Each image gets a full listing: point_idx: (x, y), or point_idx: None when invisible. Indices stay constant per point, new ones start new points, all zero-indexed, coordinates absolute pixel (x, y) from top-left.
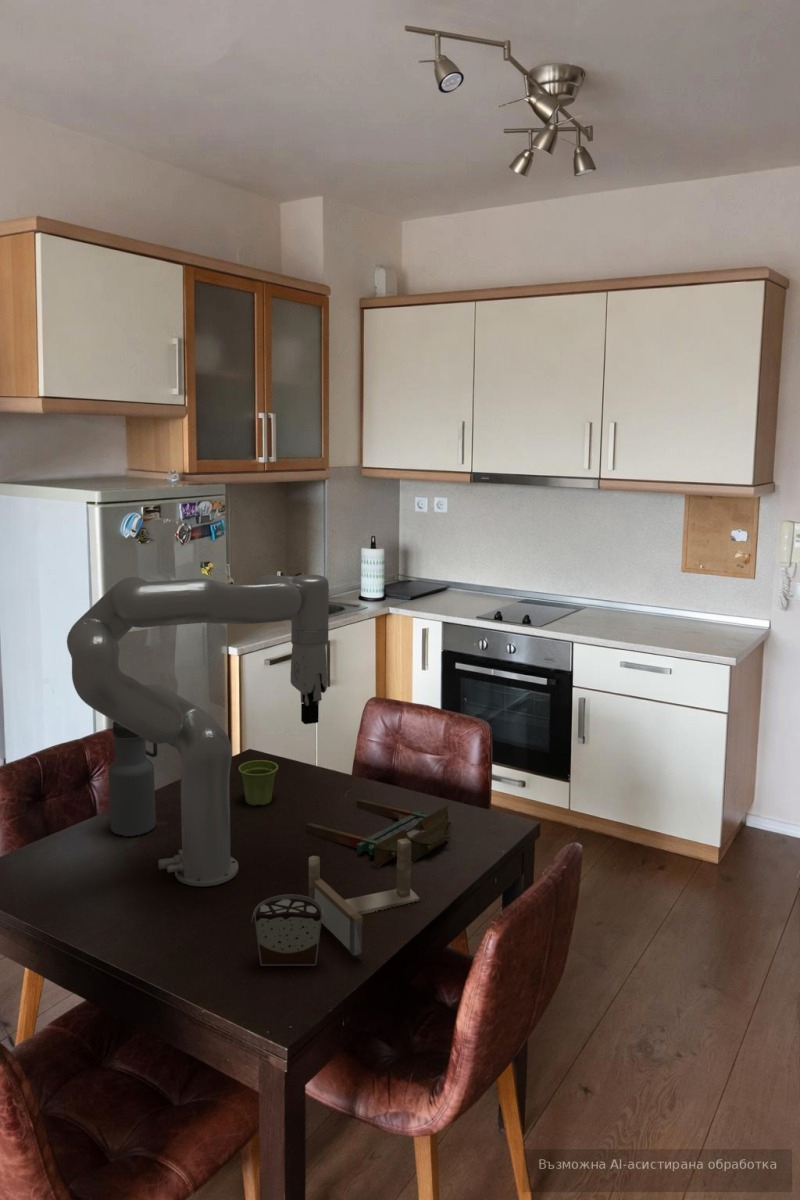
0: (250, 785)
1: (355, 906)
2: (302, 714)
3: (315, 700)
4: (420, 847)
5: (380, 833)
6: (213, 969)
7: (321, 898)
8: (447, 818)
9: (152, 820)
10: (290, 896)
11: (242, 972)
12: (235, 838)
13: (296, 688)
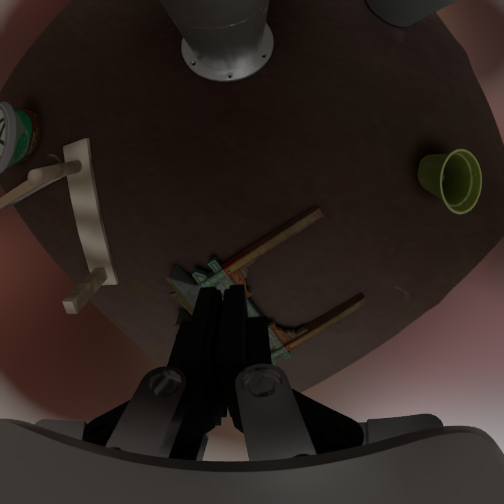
0: (438, 159)
1: (83, 215)
2: (228, 311)
3: (42, 422)
4: None
5: None
6: (38, 70)
7: None
8: None
9: (384, 12)
10: (5, 141)
11: (28, 95)
12: (327, 99)
13: (185, 473)
